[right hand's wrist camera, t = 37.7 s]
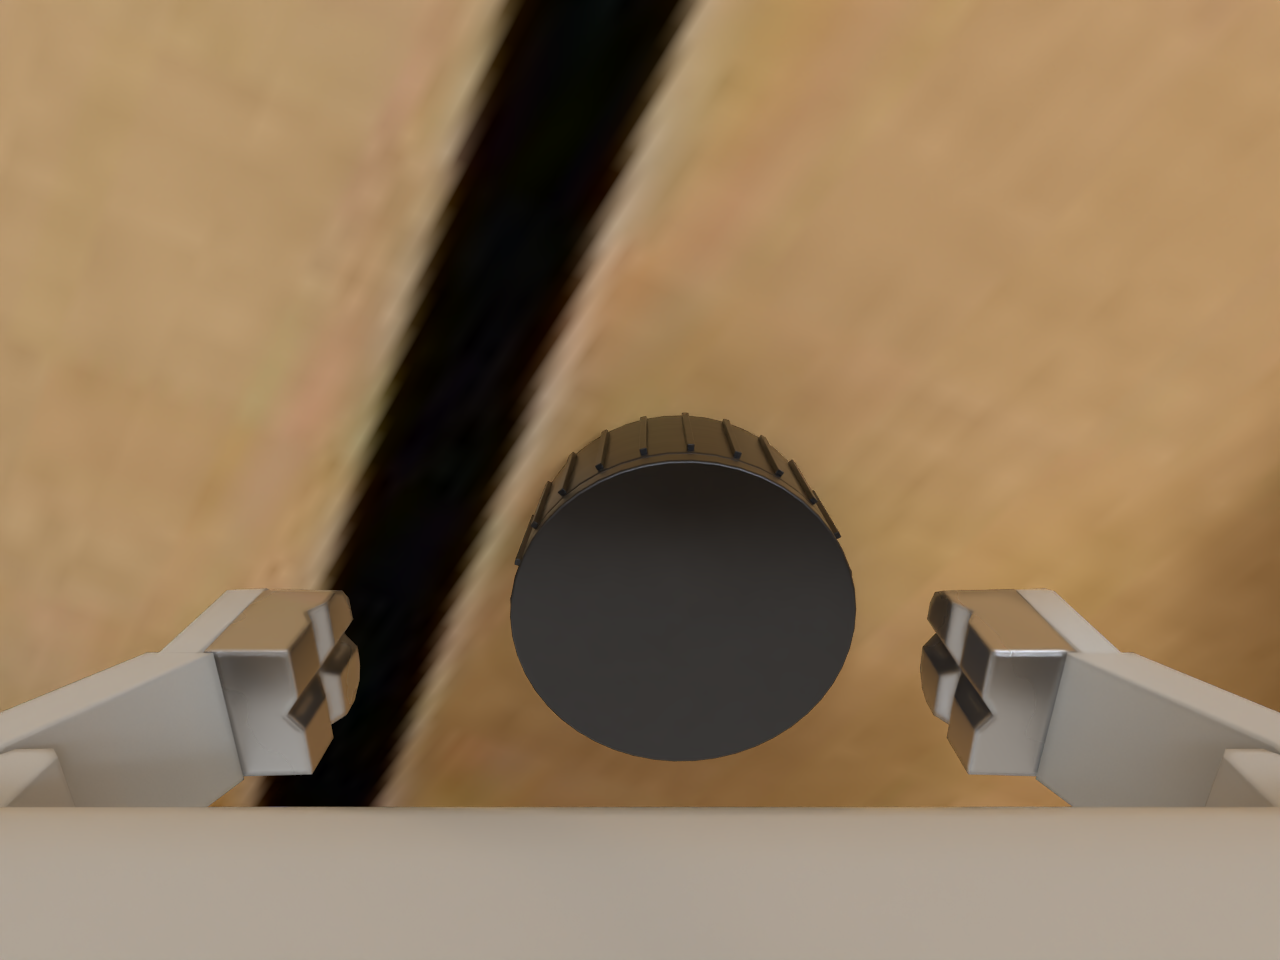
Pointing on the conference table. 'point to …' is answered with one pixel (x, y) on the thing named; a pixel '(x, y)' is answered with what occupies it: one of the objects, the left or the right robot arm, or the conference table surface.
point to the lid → (681, 591)
